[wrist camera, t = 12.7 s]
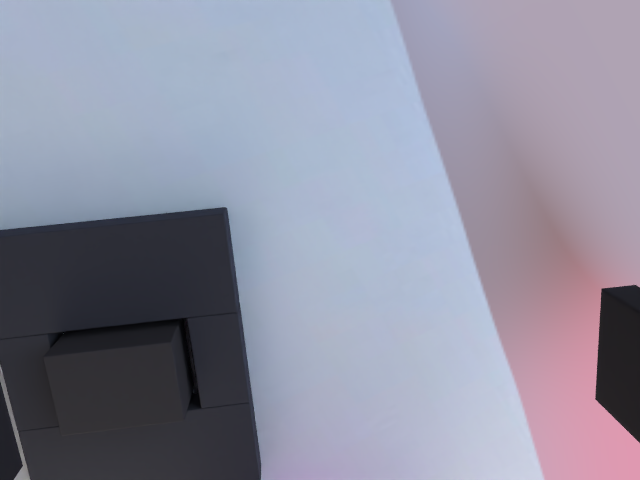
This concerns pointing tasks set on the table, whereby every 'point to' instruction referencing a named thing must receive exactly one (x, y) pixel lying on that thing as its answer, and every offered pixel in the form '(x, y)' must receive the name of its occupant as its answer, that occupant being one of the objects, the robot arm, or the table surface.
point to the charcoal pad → (122, 309)
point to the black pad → (120, 376)
